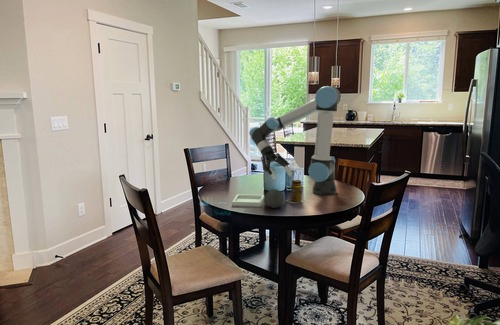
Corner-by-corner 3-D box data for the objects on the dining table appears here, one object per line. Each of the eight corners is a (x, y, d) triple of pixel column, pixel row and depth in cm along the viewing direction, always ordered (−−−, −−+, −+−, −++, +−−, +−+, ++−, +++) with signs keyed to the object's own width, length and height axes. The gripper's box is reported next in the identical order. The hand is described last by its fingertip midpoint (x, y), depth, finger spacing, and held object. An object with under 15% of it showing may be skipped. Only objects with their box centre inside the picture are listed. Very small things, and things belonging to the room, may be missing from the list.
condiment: (304, 201, 202) (305, 181, 200) (293, 203, 197) (293, 183, 195) (296, 198, 208) (296, 178, 206) (285, 200, 203) (285, 180, 201)
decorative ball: (261, 208, 189) (261, 190, 187) (271, 203, 197) (271, 186, 196) (278, 211, 184) (278, 192, 182) (287, 206, 192) (287, 188, 190)
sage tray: (264, 199, 207) (264, 195, 206) (261, 207, 191) (261, 202, 191) (237, 198, 209) (237, 194, 209) (232, 206, 194) (232, 201, 193)
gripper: (276, 150, 225) (293, 177, 217) (247, 155, 209) (264, 183, 201) (282, 143, 221) (300, 170, 212) (253, 147, 204) (271, 176, 196)
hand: (283, 176), depth 206 cm, fingers open, 13 cm apart
